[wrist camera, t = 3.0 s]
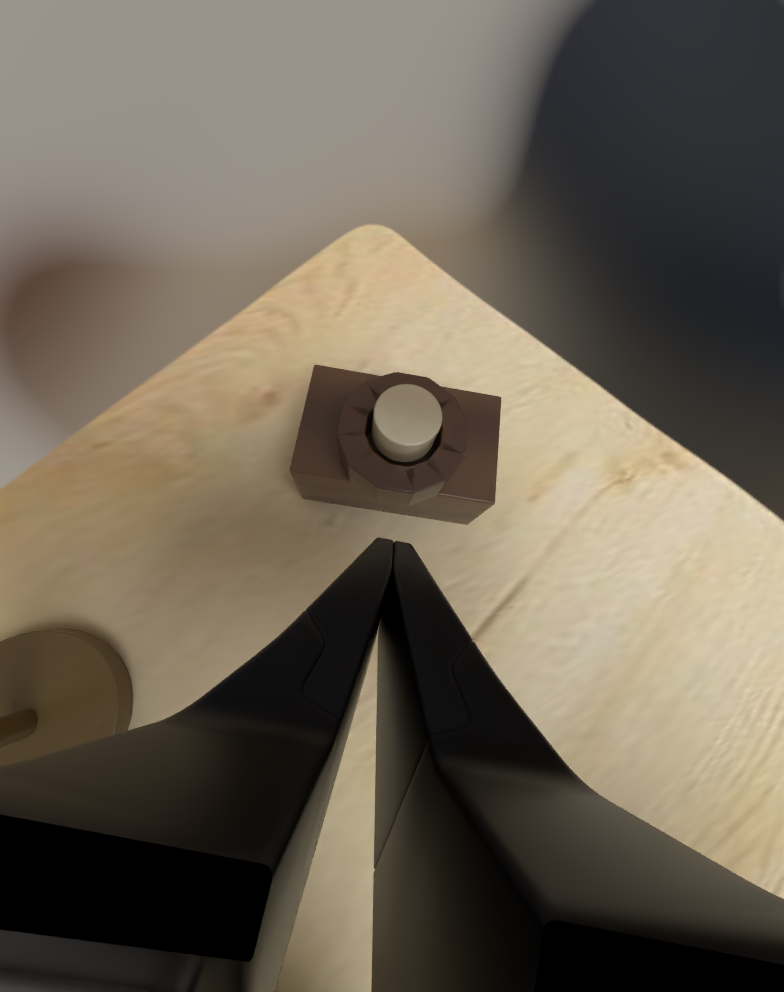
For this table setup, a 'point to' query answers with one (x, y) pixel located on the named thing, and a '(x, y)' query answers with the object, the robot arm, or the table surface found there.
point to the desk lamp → (59, 693)
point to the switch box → (380, 480)
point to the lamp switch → (406, 422)
